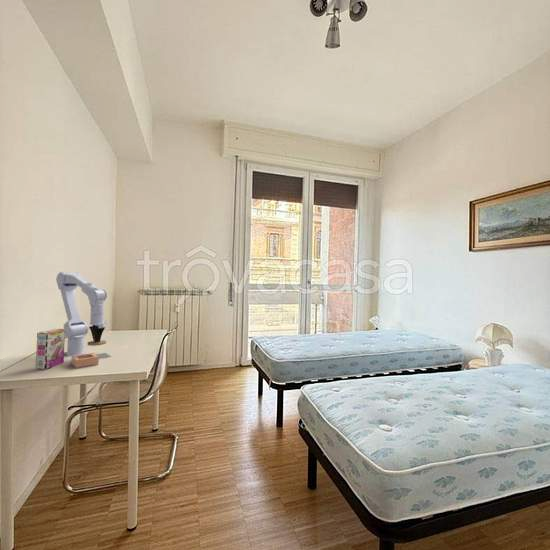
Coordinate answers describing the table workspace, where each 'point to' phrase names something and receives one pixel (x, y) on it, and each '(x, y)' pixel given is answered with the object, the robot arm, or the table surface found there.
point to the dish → (85, 360)
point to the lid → (96, 342)
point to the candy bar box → (50, 348)
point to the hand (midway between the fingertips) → (96, 340)
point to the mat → (103, 355)
